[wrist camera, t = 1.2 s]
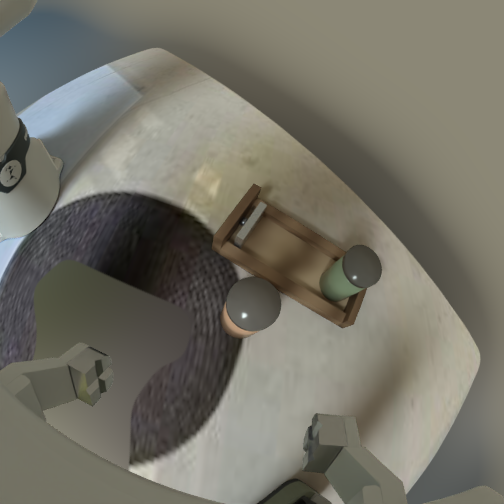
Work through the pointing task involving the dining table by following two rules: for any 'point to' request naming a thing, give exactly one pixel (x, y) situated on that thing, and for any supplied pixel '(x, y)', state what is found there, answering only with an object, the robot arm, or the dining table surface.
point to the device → (294, 494)
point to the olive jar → (351, 274)
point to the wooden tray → (286, 257)
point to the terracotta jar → (250, 307)
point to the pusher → (249, 225)
